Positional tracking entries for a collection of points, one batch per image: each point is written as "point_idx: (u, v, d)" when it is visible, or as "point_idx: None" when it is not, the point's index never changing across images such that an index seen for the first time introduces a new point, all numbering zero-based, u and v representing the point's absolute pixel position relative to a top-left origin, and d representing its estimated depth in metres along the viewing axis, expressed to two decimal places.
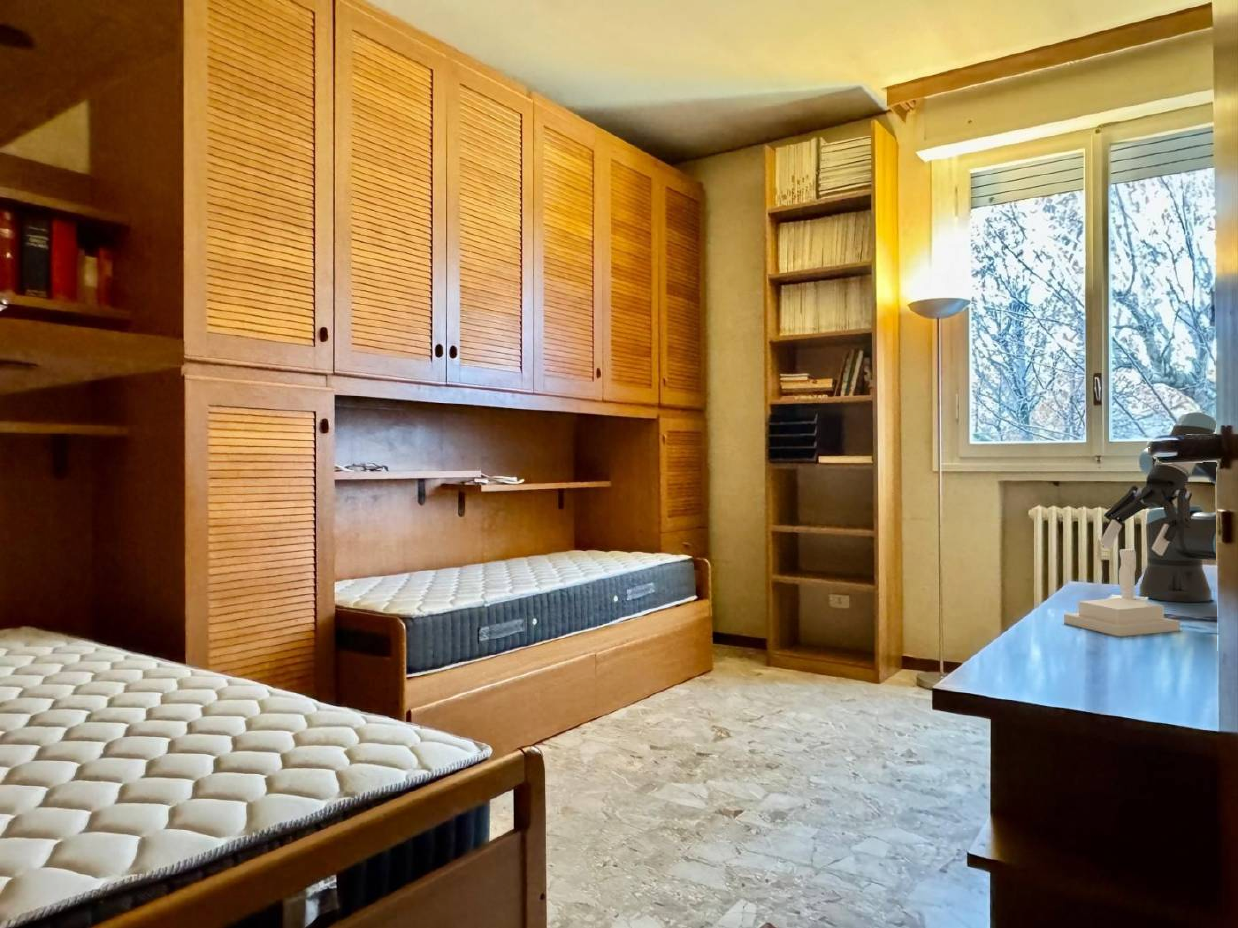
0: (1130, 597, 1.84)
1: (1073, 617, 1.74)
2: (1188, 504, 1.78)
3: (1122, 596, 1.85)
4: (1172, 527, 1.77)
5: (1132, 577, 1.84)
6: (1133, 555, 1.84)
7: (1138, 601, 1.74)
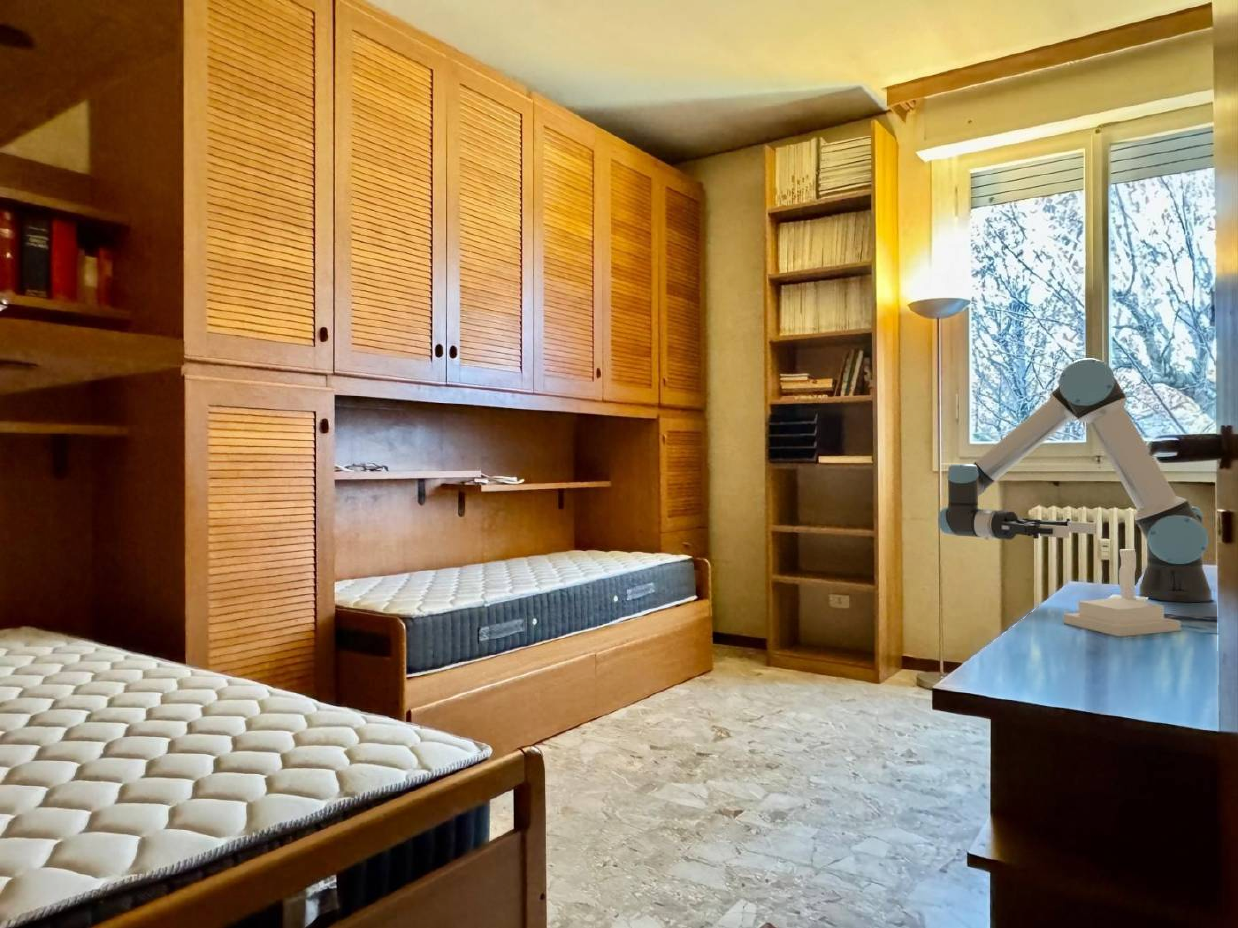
0: (1130, 597, 1.84)
1: (1073, 617, 1.74)
2: (1012, 524, 1.99)
3: (1122, 596, 1.85)
4: None
5: (1132, 577, 1.84)
6: (1133, 555, 1.84)
7: (1138, 601, 1.74)
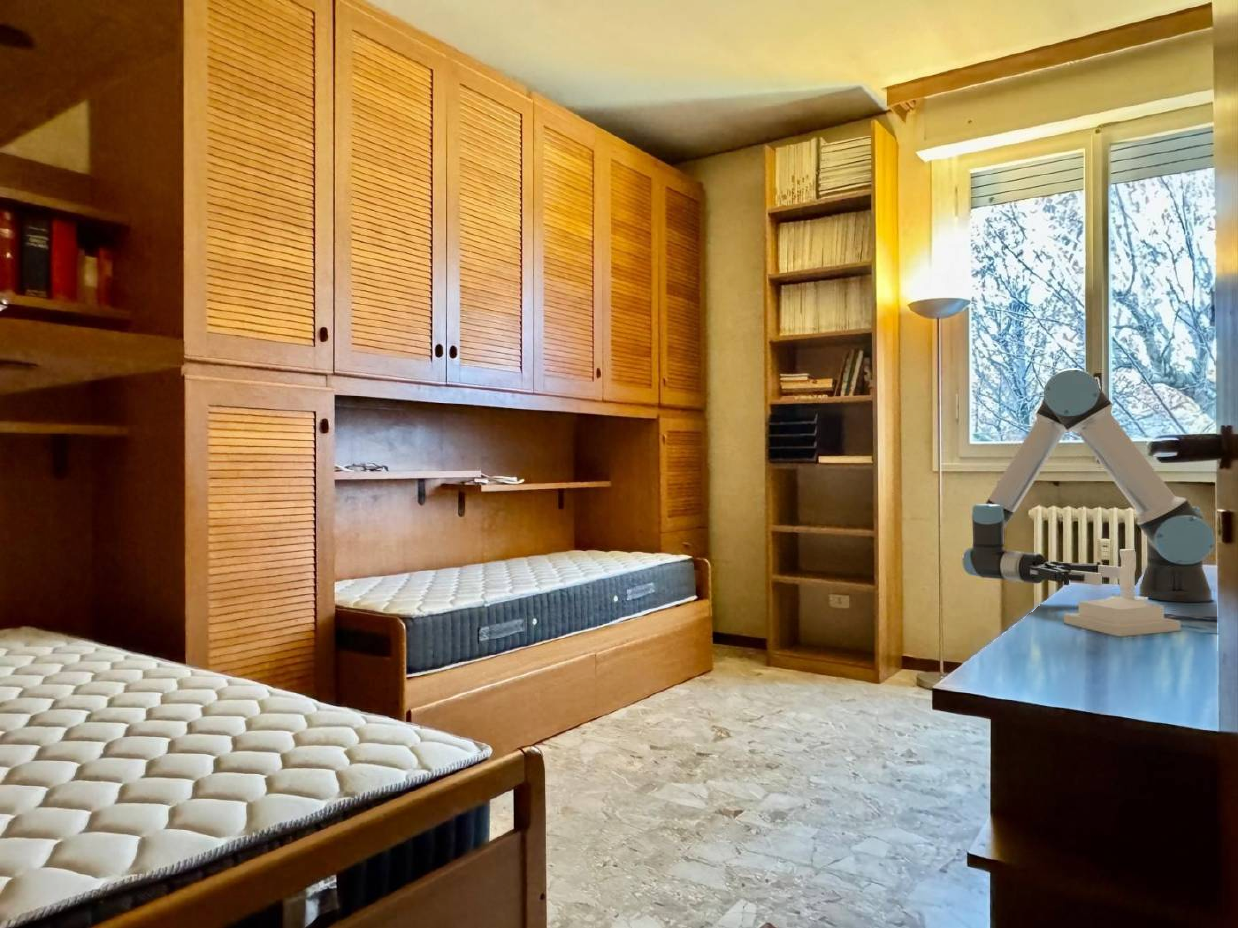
0: (1130, 597, 1.84)
1: (1073, 617, 1.74)
2: (1041, 570, 1.93)
3: (1122, 596, 1.85)
4: (1070, 579, 1.87)
5: (1132, 577, 1.84)
6: (1133, 555, 1.84)
7: (1138, 601, 1.74)
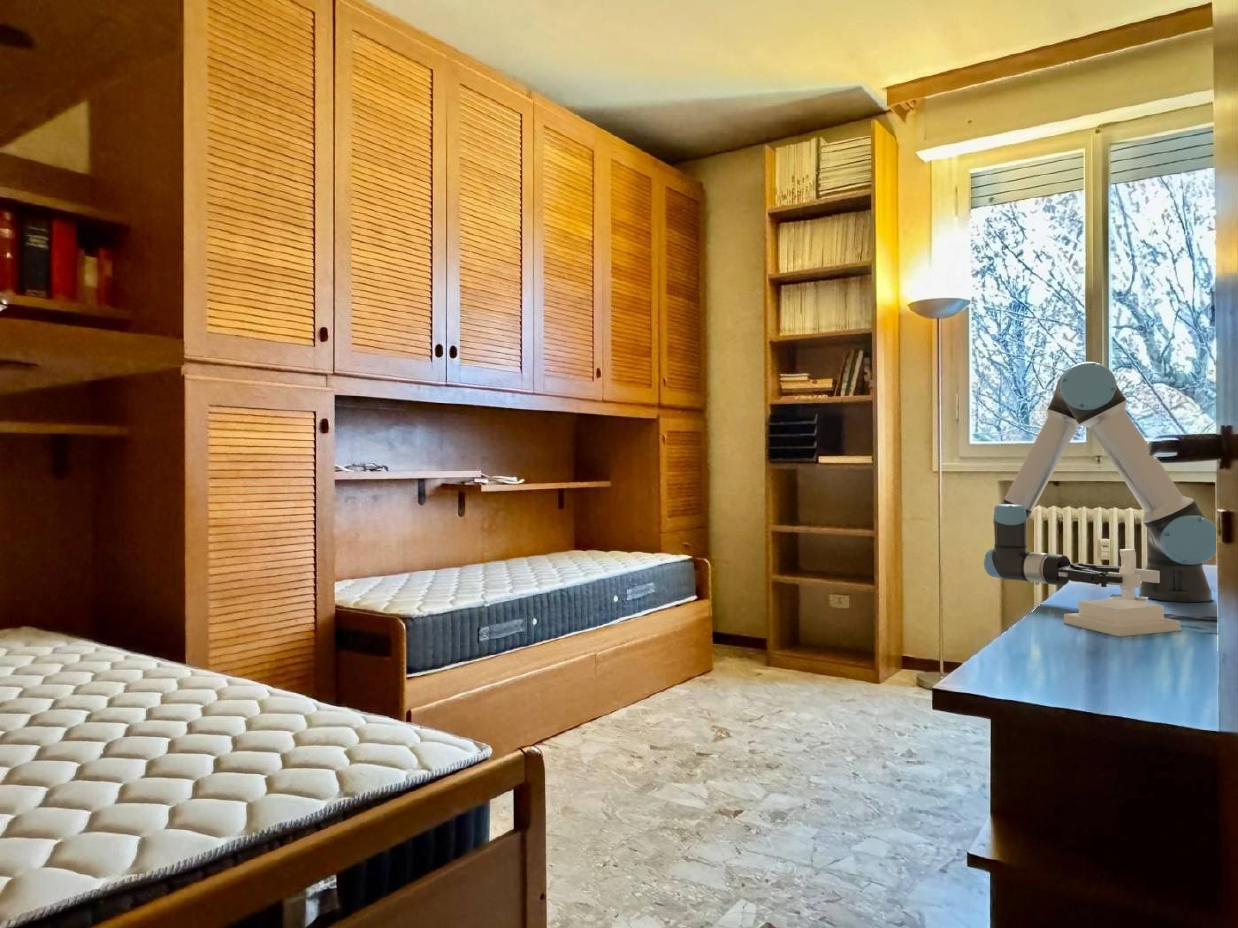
0: (1130, 597, 1.84)
1: (1073, 617, 1.74)
2: (1072, 572, 1.88)
3: (1122, 596, 1.85)
4: (1107, 581, 1.83)
5: None
6: (1133, 555, 1.84)
7: (1138, 601, 1.74)
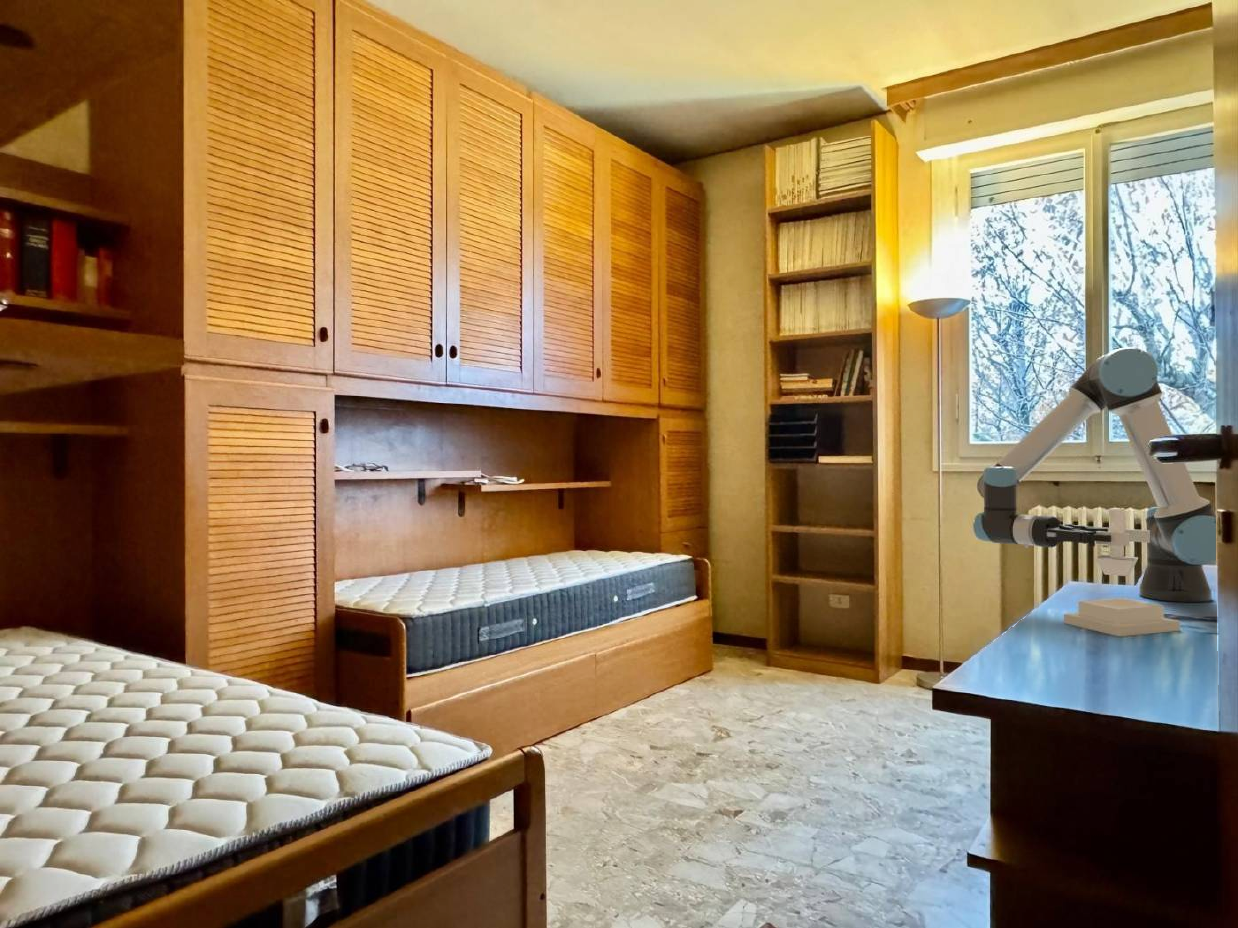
0: (1119, 557, 1.80)
1: (1073, 617, 1.74)
2: (1061, 531, 1.85)
3: (1111, 556, 1.81)
4: (1095, 540, 1.79)
5: None
6: (1122, 514, 1.80)
7: (1138, 601, 1.74)
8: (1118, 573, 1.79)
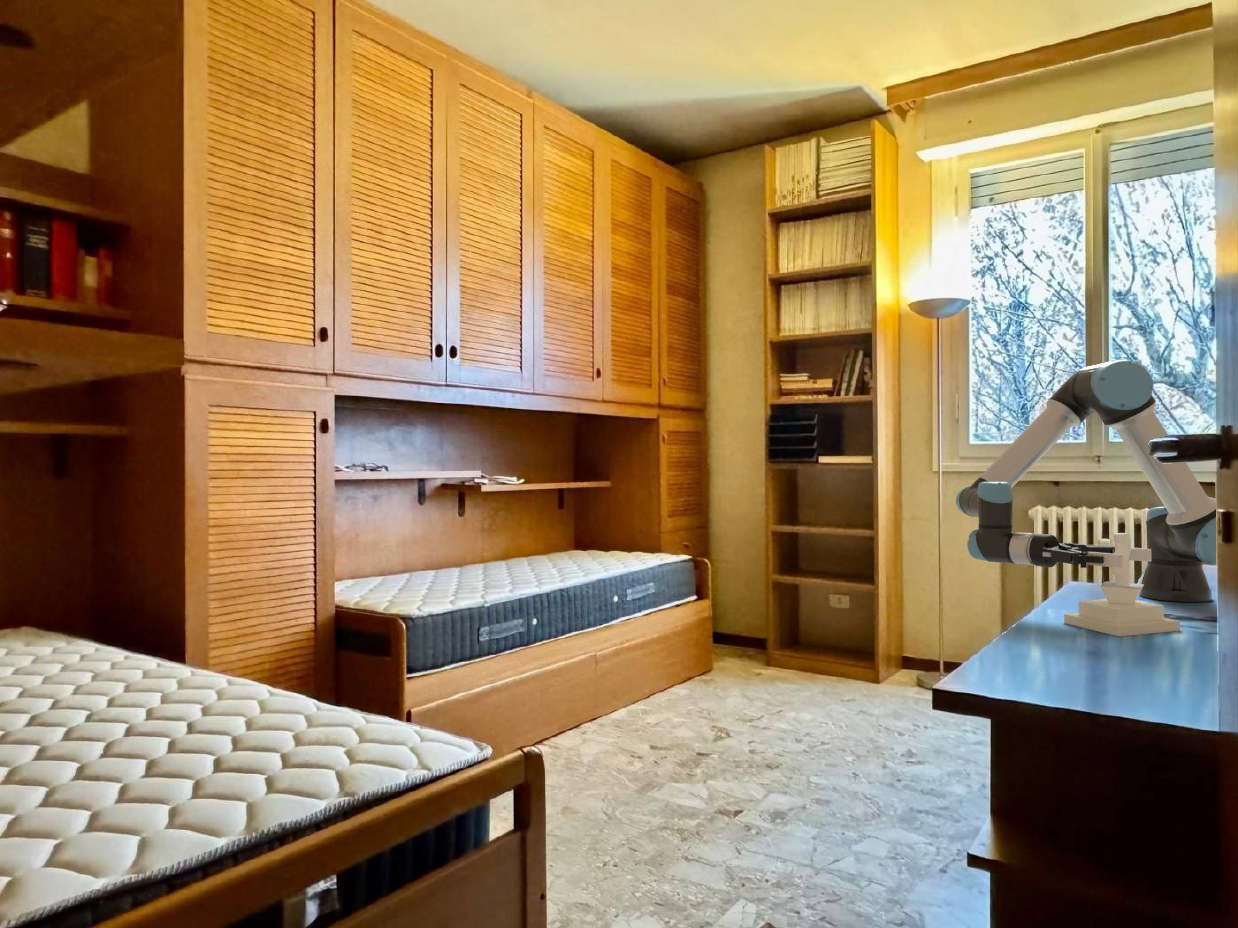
0: (1124, 584, 1.72)
1: (1073, 617, 1.74)
2: (1055, 551, 1.76)
3: (1116, 583, 1.73)
4: None
5: (1127, 563, 1.72)
6: (1128, 539, 1.72)
7: (1138, 601, 1.74)
8: (1123, 602, 1.71)
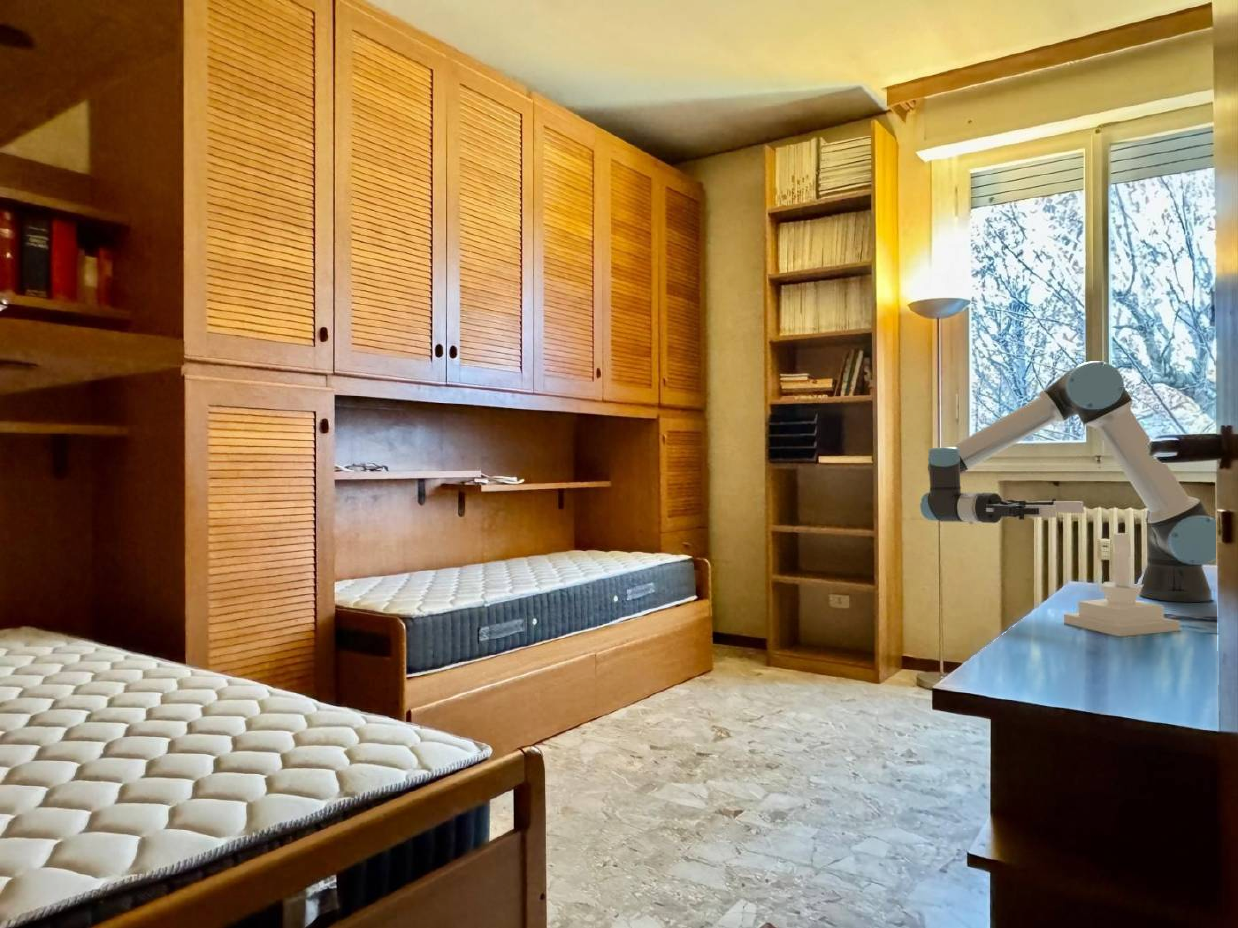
0: (1124, 584, 1.72)
1: (1073, 617, 1.74)
2: (996, 506, 1.91)
3: (1116, 583, 1.73)
4: None
5: (1126, 563, 1.72)
6: (1127, 539, 1.72)
7: (1138, 601, 1.74)
8: (1123, 602, 1.71)
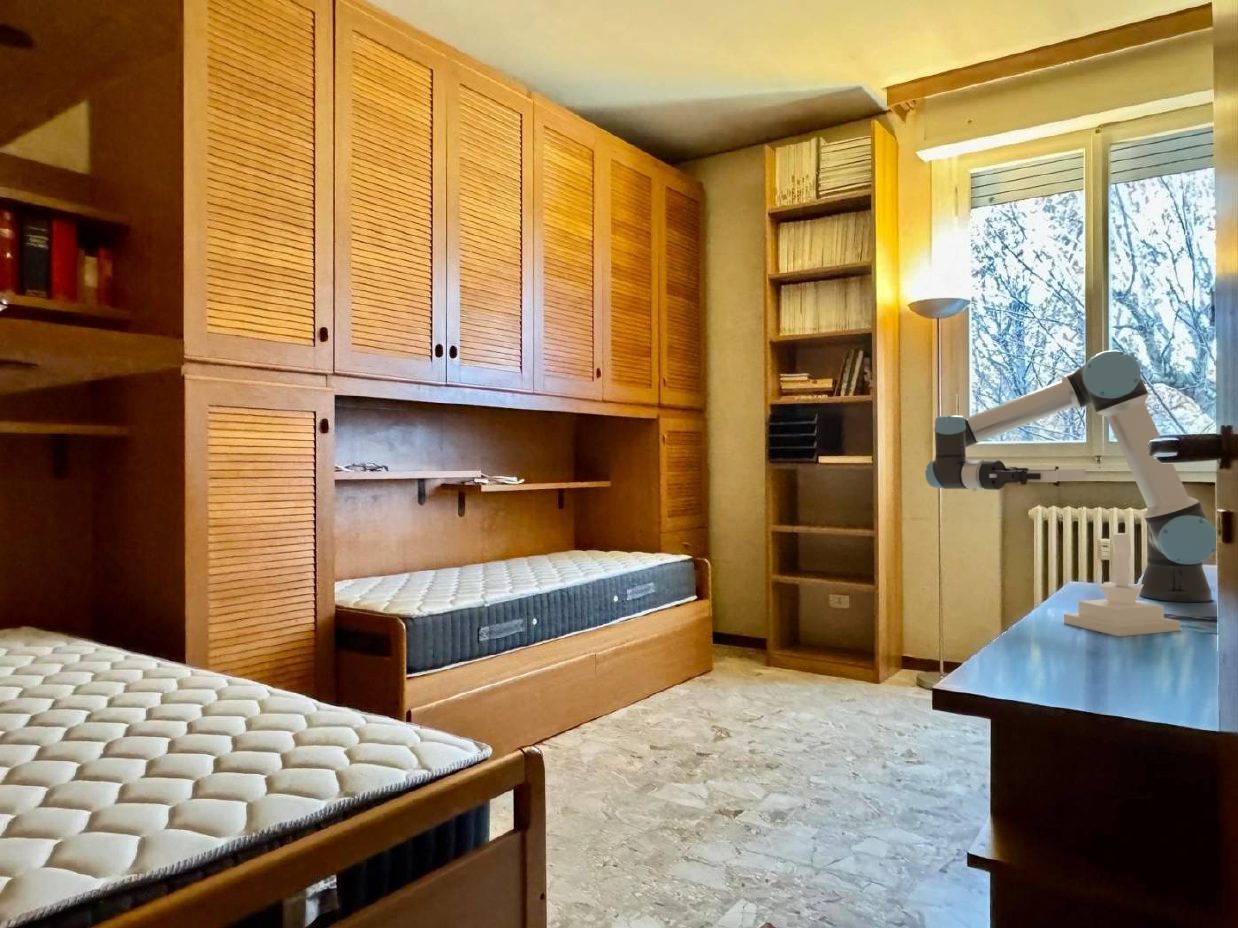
0: (1124, 584, 1.72)
1: (1073, 617, 1.74)
2: (999, 472, 1.96)
3: (1116, 583, 1.73)
4: (1026, 479, 1.90)
5: (1126, 563, 1.72)
6: (1127, 539, 1.72)
7: (1138, 601, 1.74)
8: (1123, 602, 1.71)
